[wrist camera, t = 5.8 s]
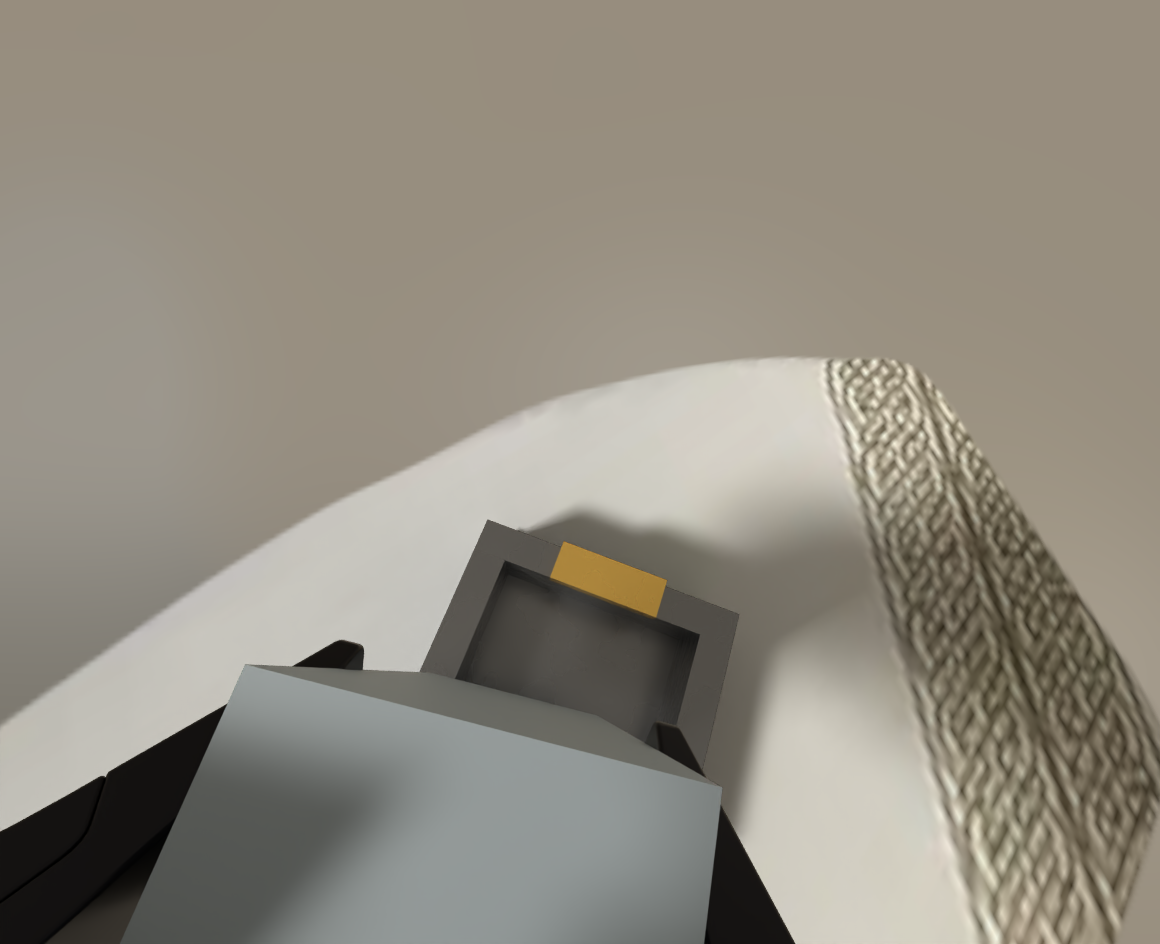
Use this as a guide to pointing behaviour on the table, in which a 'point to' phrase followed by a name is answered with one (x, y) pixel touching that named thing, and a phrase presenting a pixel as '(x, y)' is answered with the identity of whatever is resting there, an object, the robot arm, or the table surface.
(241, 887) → the block
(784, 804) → the table surface
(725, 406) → the table surface
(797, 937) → the table surface
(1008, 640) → the table surface
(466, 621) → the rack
